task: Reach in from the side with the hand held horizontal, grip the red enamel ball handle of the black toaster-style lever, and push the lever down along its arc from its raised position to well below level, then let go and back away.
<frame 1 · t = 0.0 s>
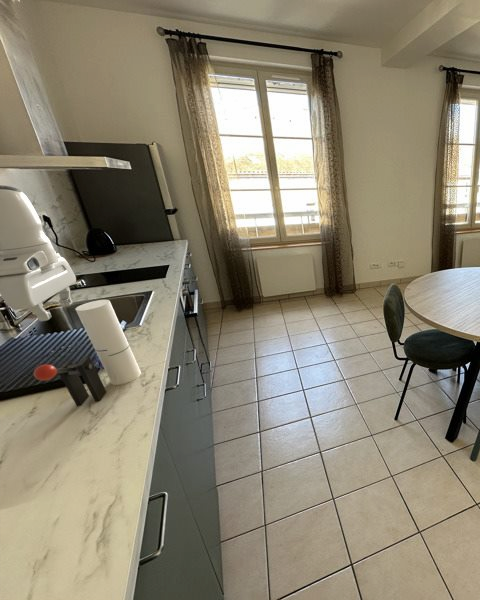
hand: (57, 312, 81), 27 cm above the worktop, tool pointing down, fingers open, 8 cm apart
cylindrical container: (128, 381, 98), on the worktop, touching toaster bracket
pudding: (112, 366, 107), on the worktop
lever: (61, 370, 80), point 14 cm above the worktop, hinge at 28.0°
toaster bracket: (94, 402, 90), on the worktop
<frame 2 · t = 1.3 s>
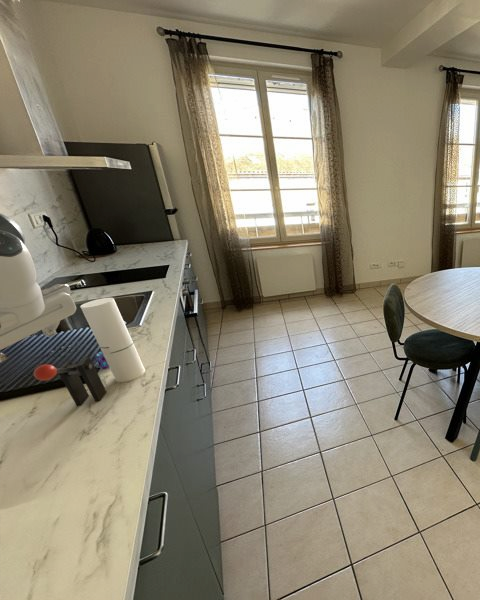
hand: (26, 346, 74), 22 cm above the worktop, tool tilted 30°, fingers open, 8 cm apart
cylindrical container: (132, 378, 100), on the worktop
everything else where it was.
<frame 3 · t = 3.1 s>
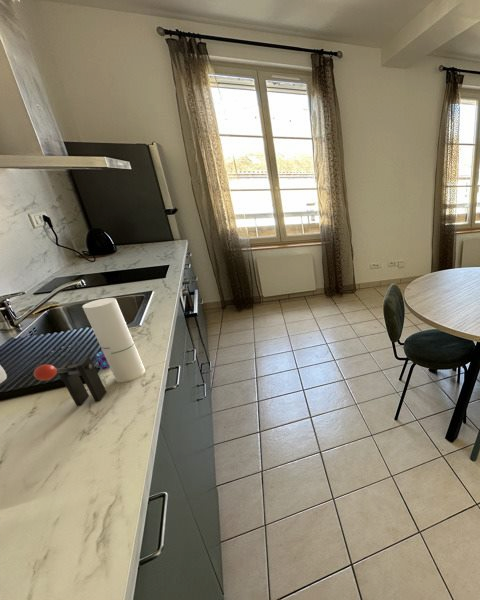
nothing on the worktop moved.
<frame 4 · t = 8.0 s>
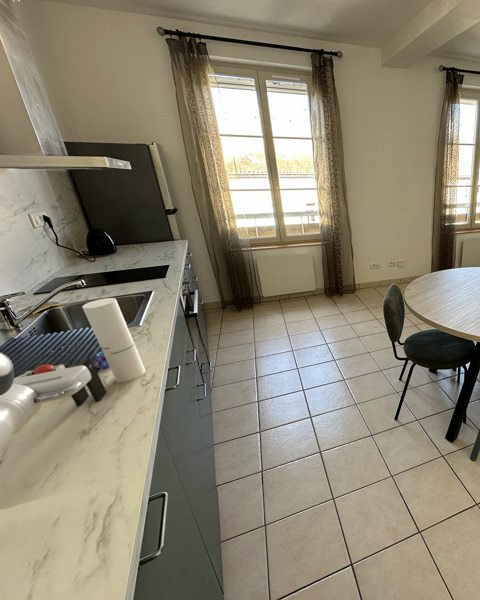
hand: (47, 370, 76), 16 cm above the worktop, tool horizontal, fingers closed on lever, 3 cm apart
lever: (61, 370, 80), point 14 cm above the worktop, hinge at 28.0°, touching gripper
everything else where it was.
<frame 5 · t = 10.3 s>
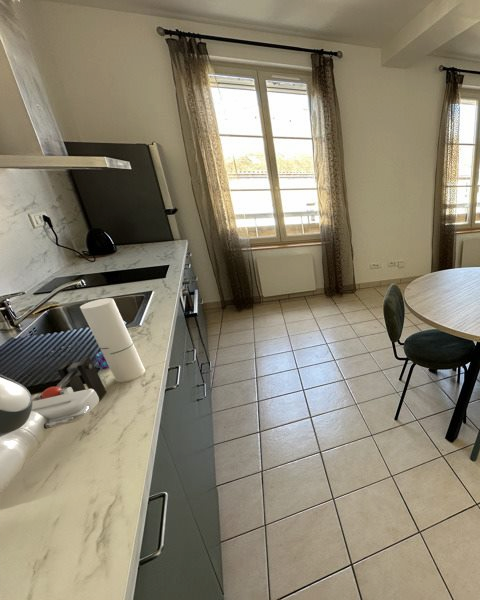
hand: (55, 392, 77), 11 cm above the worktop, tool horizontal, fingers closed on lever, 3 cm apart
lever: (65, 381, 80), point 11 cm above the worktop, hinge at -1.0°, touching gripper
everything else where it was.
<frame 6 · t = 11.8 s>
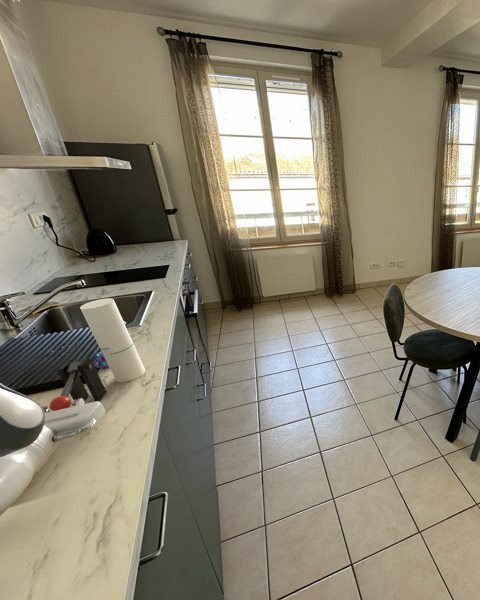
hand: (62, 405, 78), 7 cm above the worktop, tool horizontal, fingers open, 5 cm apart
lever: (68, 386, 81), point 9 cm above the worktop, hinge at -18.0°
everything else where it was.
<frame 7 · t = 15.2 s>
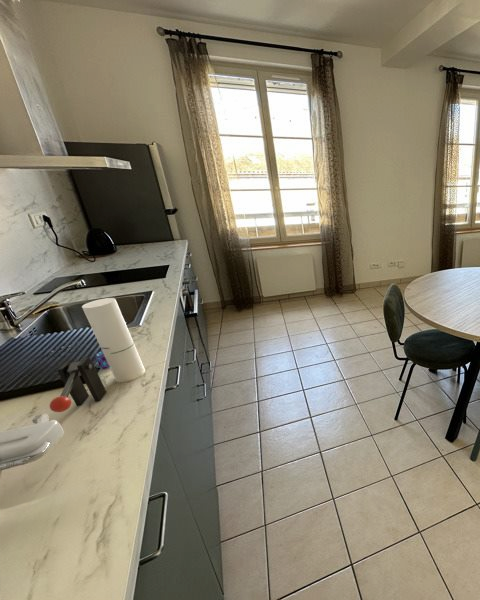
hand: (14, 423, 66), 12 cm above the worktop, tool horizontal, fingers open, 8 cm apart
nothing on the worktop moved.
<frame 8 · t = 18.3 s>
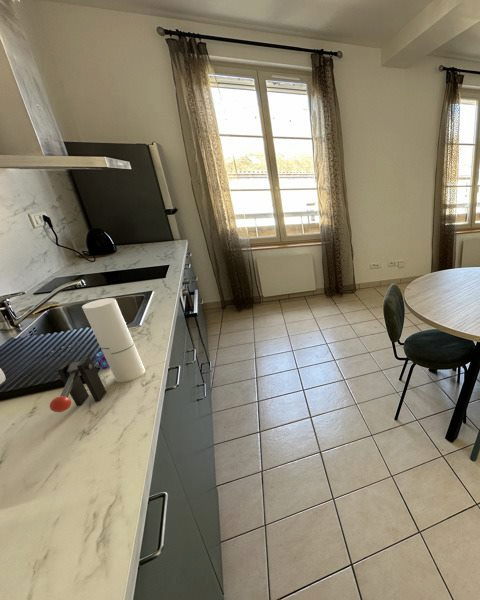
nothing on the worktop moved.
at the end: lever at -18° (first picture: +28°); cylindrical container moved 1.6 cm from its start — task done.
